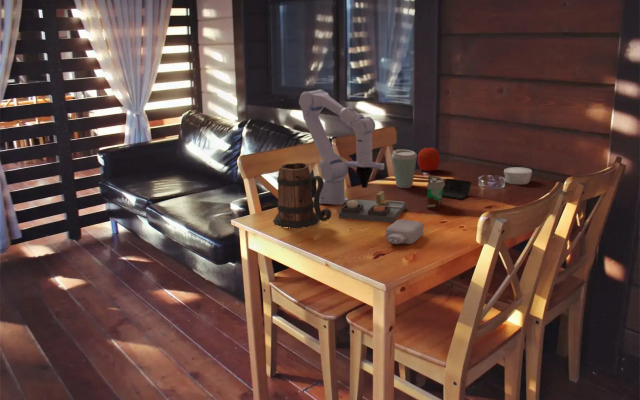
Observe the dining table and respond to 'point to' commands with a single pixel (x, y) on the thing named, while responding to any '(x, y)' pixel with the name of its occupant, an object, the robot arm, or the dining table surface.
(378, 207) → the terracotta button
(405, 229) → the grey plastic bottle
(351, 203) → the cream button
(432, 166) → the apple
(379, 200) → the tall mustard sponge block
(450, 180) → the handheld gaming console
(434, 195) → the food container
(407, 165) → the disposable coffee cup
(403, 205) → the control panel
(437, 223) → the dining table surface
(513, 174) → the ramekin
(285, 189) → the tankard
